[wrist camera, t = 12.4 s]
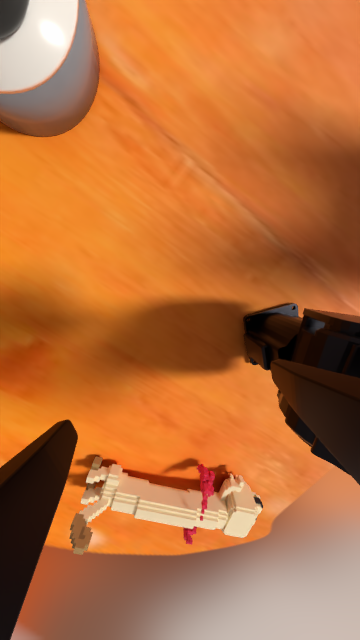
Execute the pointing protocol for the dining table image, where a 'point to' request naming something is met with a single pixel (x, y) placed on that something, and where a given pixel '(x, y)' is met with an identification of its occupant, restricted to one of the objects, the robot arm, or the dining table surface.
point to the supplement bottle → (11, 15)
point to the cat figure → (167, 503)
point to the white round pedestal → (49, 69)
